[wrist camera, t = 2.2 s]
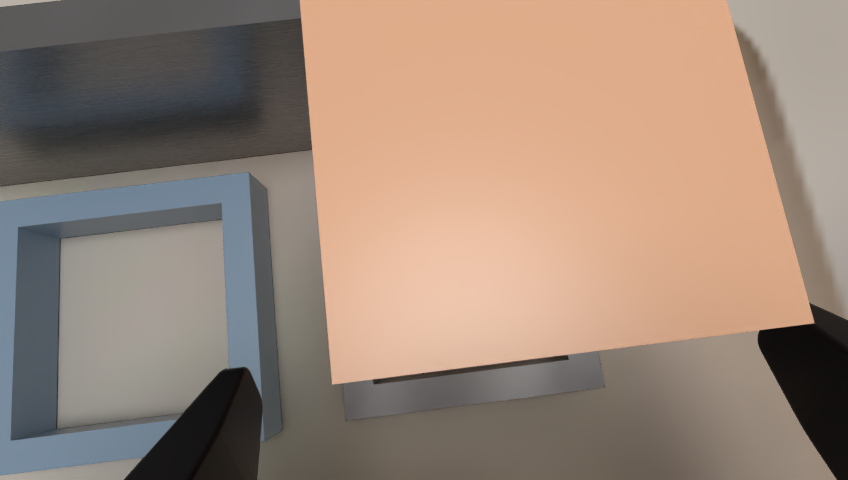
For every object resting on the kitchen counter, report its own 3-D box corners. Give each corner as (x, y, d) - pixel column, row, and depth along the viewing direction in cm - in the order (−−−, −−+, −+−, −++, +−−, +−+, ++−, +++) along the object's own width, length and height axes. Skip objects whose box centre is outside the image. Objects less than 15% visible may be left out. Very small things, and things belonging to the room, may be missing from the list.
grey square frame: (585, 381, 18) (605, 387, 16) (354, 411, 18) (345, 420, 16) (546, 162, 20) (559, 143, 18) (333, 188, 19) (323, 171, 17)
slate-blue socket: (282, 430, 18) (264, 441, 16) (27, 462, 18) (-24, 478, 16) (266, 188, 19) (249, 172, 17) (34, 216, 19) (-10, 202, 17)
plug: (523, 334, 18) (814, 323, 5) (402, 349, 18) (331, 384, 5) (501, 197, 19) (686, -147, 6) (386, 210, 19) (291, -106, 6)
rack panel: (591, 116, 20) (698, -27, 12) (-13, 187, 19) (-308, 86, 12) (585, 89, 20) (687, -69, 12) (-11, 158, 20) (-299, 40, 12)
